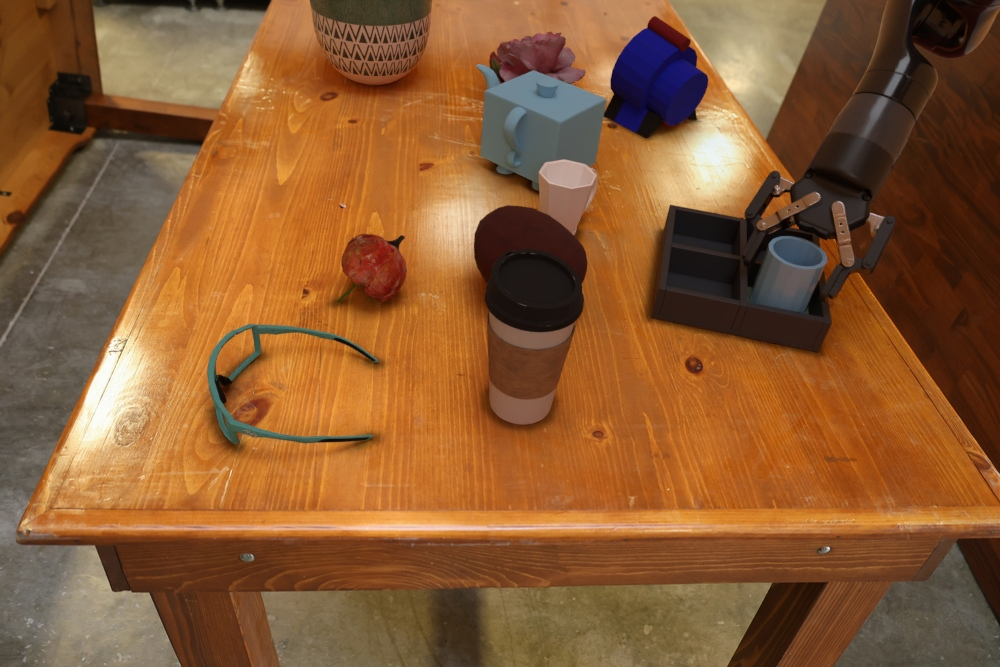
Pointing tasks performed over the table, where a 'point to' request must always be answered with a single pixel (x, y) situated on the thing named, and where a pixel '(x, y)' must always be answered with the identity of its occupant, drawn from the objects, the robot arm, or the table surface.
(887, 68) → the robot arm
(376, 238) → the pomegranate
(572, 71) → the flower
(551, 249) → the dark brown oval ball
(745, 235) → the black divided tray
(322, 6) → the planter
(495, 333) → the coffee cup
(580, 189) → the cup
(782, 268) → the blue cup
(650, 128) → the alarm clock
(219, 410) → the sunglasses
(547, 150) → the teapot
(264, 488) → the table surface
